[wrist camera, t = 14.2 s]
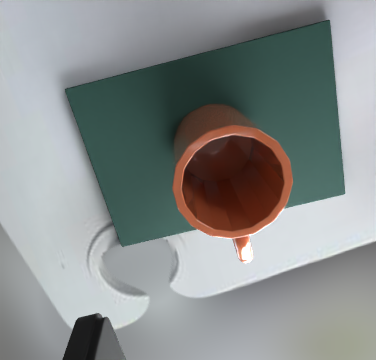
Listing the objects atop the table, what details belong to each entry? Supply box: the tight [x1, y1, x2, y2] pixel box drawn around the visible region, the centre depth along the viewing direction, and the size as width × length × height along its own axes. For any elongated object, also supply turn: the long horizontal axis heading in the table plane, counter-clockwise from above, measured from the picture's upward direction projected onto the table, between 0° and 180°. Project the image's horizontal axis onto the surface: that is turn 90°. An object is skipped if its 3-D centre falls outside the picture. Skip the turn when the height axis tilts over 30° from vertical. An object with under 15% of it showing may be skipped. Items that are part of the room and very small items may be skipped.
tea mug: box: [172, 104, 293, 263], centre depth 23 cm, size 10×7×9 cm
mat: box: [65, 20, 345, 247], centre depth 27 cm, size 20×14×1 cm
